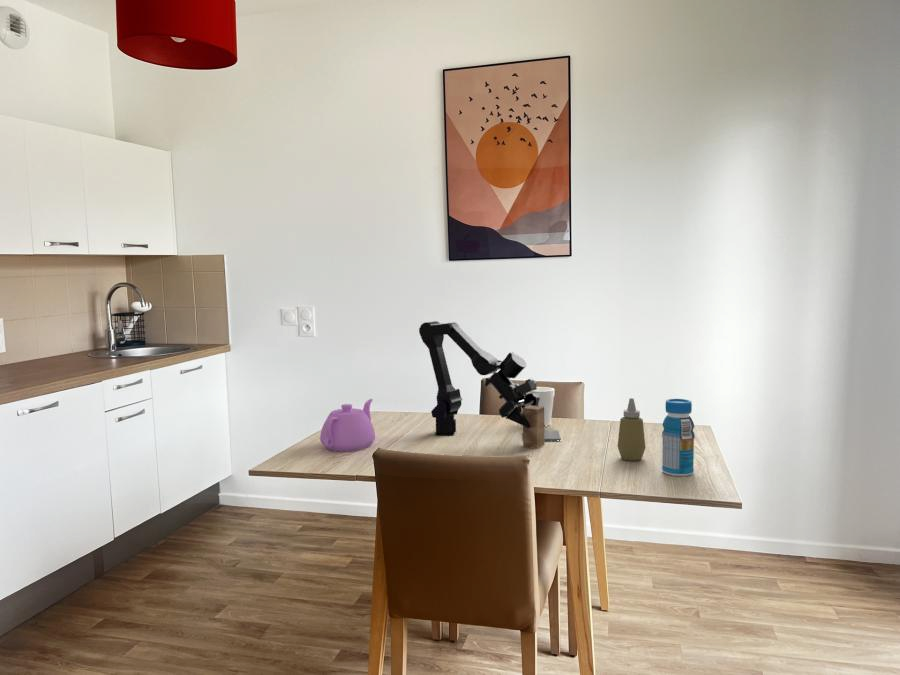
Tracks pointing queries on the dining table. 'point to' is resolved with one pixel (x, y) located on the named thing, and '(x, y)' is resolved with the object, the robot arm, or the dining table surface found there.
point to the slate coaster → (551, 435)
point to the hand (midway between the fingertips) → (536, 424)
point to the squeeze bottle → (631, 434)
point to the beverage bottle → (678, 438)
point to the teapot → (348, 429)
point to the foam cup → (546, 401)
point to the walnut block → (534, 427)
